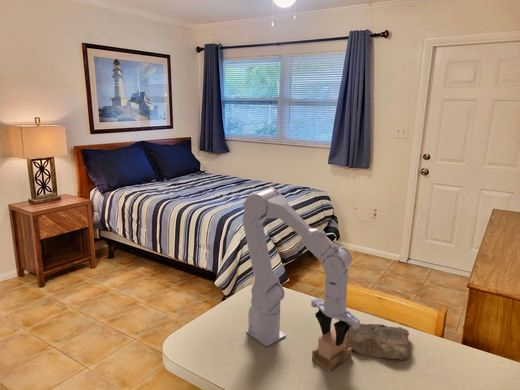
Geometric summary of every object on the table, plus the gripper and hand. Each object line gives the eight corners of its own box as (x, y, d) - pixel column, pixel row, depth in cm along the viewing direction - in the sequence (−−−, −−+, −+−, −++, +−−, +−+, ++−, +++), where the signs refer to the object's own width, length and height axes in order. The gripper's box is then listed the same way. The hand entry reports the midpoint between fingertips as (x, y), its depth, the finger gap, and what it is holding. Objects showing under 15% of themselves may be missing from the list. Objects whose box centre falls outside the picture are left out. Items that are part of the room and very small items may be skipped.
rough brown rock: (334, 352, 107) (410, 366, 100) (334, 336, 106) (412, 350, 99) (340, 326, 120) (408, 337, 113) (340, 311, 119) (409, 322, 112)
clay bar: (329, 360, 99) (330, 344, 98) (317, 352, 102) (318, 337, 101) (346, 349, 104) (347, 334, 102) (334, 342, 107) (335, 328, 105)
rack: (329, 371, 98) (330, 362, 98) (311, 359, 103) (312, 350, 102) (351, 357, 104) (351, 348, 103) (333, 346, 108) (333, 337, 108)
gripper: (368, 300, 96) (364, 347, 99) (324, 280, 107) (321, 323, 110) (351, 309, 92) (348, 358, 95) (306, 287, 102) (305, 332, 105)
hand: (332, 340), depth 102 cm, fingers closed on clay bar, 4 cm apart
